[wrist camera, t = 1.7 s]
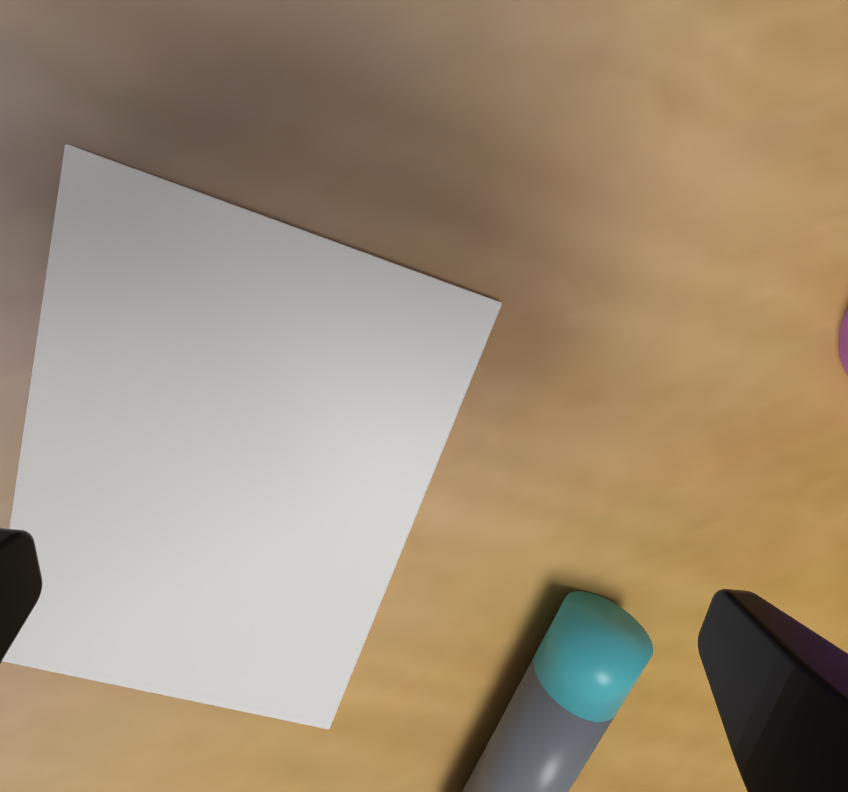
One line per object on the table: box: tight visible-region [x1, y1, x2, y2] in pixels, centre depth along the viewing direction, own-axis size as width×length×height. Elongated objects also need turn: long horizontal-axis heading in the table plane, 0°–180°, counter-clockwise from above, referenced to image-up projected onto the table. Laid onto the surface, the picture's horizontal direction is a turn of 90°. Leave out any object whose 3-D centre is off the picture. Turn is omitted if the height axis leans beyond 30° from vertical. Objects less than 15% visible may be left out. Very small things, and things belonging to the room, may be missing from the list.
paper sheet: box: [2, 144, 502, 729], centre depth 20 cm, size 20×14×1 cm
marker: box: [462, 591, 653, 792], centre depth 23 cm, size 15×4×4 cm, turn 160°
